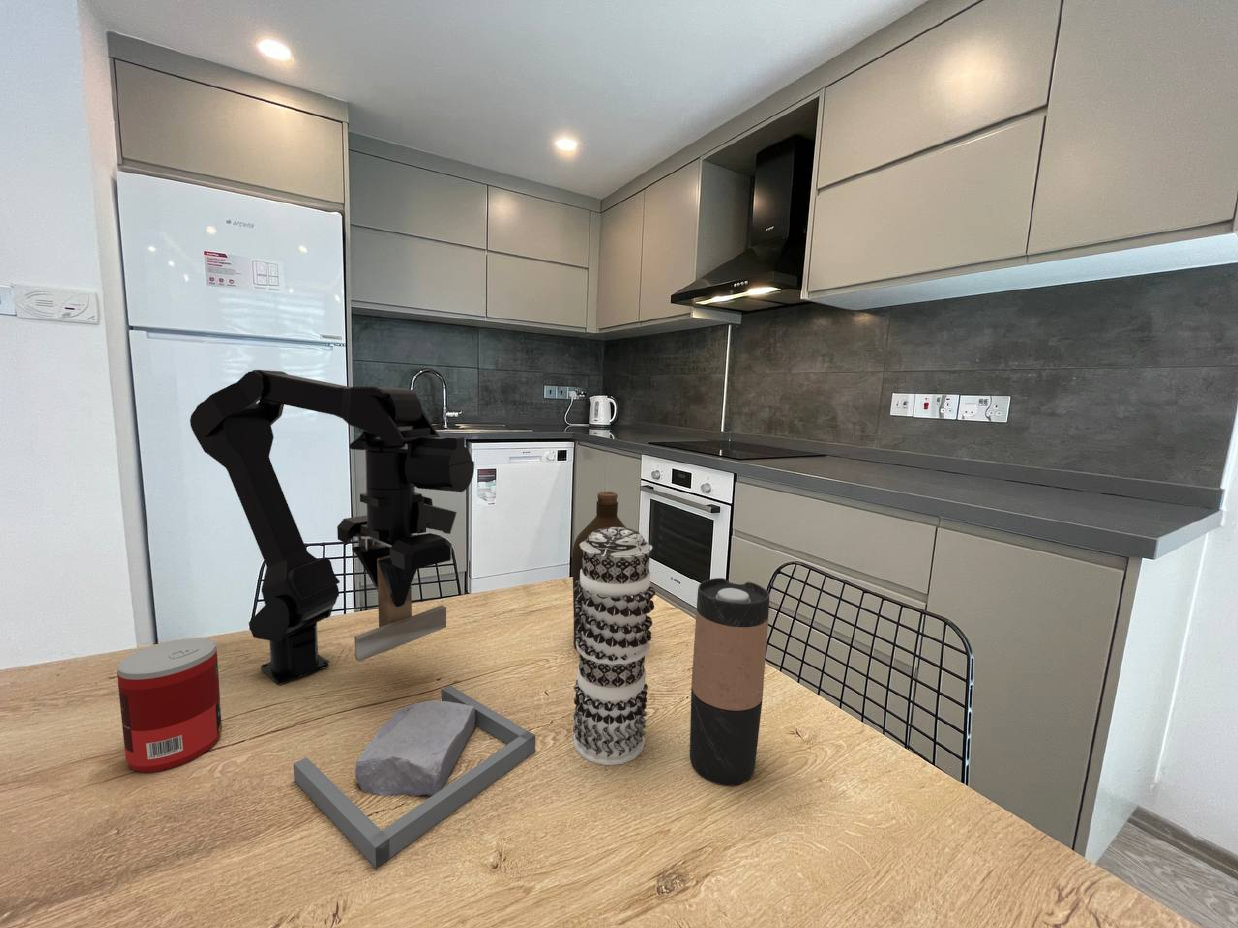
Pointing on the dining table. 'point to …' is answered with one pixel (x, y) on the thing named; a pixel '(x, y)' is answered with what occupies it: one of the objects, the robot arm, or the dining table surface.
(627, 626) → the decorative candle
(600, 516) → the olive oil
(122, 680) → the canned food
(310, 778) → the frame
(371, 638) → the block
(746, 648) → the travel mug
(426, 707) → the stone block
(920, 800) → the dining table surface
